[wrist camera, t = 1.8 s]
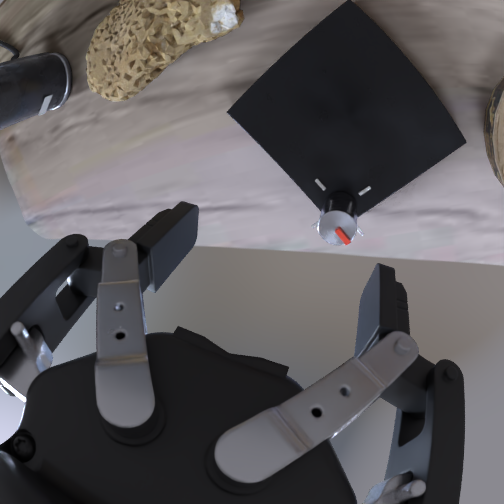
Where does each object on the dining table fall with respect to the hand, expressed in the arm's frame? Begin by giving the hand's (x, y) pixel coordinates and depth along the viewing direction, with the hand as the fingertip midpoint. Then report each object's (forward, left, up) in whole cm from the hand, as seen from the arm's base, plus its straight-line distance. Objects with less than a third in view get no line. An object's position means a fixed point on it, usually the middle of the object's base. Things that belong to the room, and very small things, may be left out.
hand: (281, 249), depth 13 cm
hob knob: (+6, -3, -19) cm, 20 cm away
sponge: (-22, -4, -22) cm, 31 cm away
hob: (0, +2, -21) cm, 21 cm away
